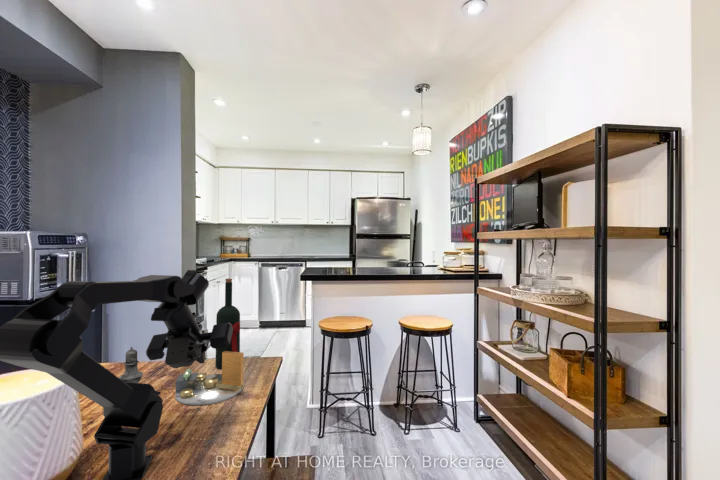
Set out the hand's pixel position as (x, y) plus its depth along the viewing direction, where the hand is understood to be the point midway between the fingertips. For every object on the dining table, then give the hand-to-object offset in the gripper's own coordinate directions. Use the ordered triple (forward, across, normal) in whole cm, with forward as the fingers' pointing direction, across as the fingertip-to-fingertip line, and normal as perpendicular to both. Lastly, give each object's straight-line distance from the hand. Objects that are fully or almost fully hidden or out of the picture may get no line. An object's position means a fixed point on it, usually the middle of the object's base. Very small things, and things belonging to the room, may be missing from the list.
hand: (203, 361), depth 84 cm
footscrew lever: (+15, 0, +2) cm, 15 cm away
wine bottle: (+26, -4, +18) cm, 32 cm away
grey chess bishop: (+14, -27, +7) cm, 32 cm away
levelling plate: (+16, -4, +3) cm, 17 cm away
